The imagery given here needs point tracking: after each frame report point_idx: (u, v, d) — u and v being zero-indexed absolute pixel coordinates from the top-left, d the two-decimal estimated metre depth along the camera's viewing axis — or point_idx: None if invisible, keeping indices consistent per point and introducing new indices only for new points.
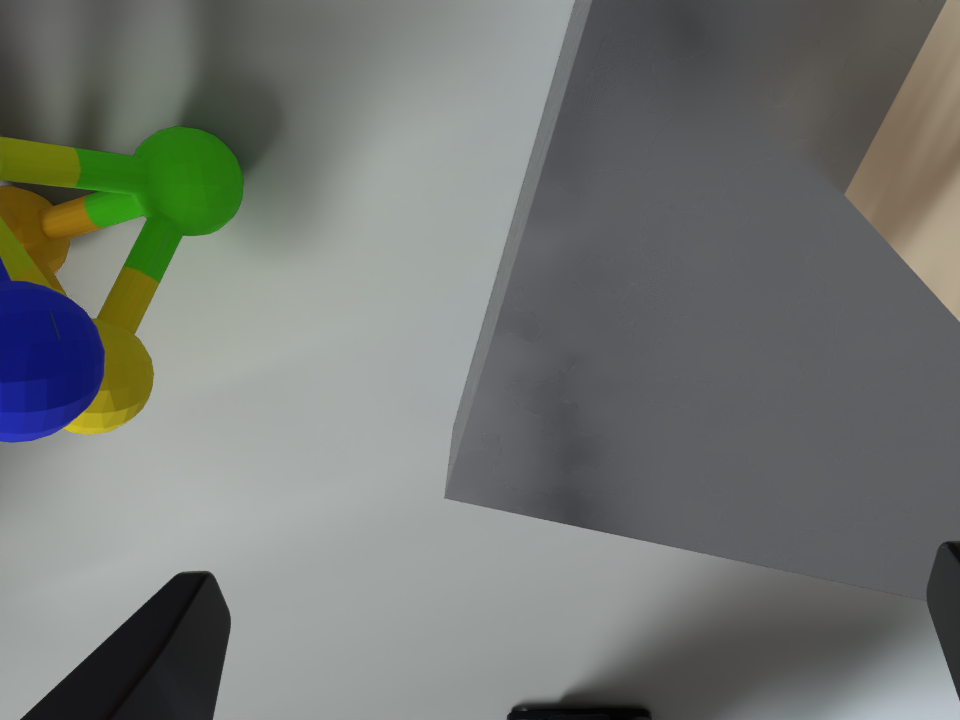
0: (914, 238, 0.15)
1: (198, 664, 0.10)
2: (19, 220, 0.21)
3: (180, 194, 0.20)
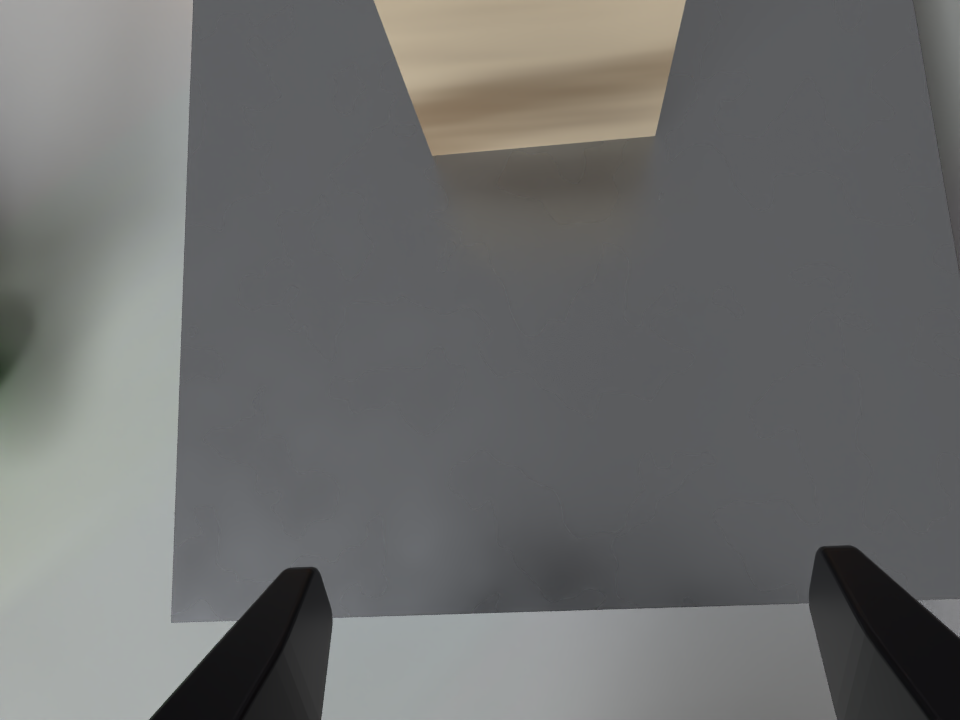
0: None
1: (310, 661, 0.09)
2: None
3: None
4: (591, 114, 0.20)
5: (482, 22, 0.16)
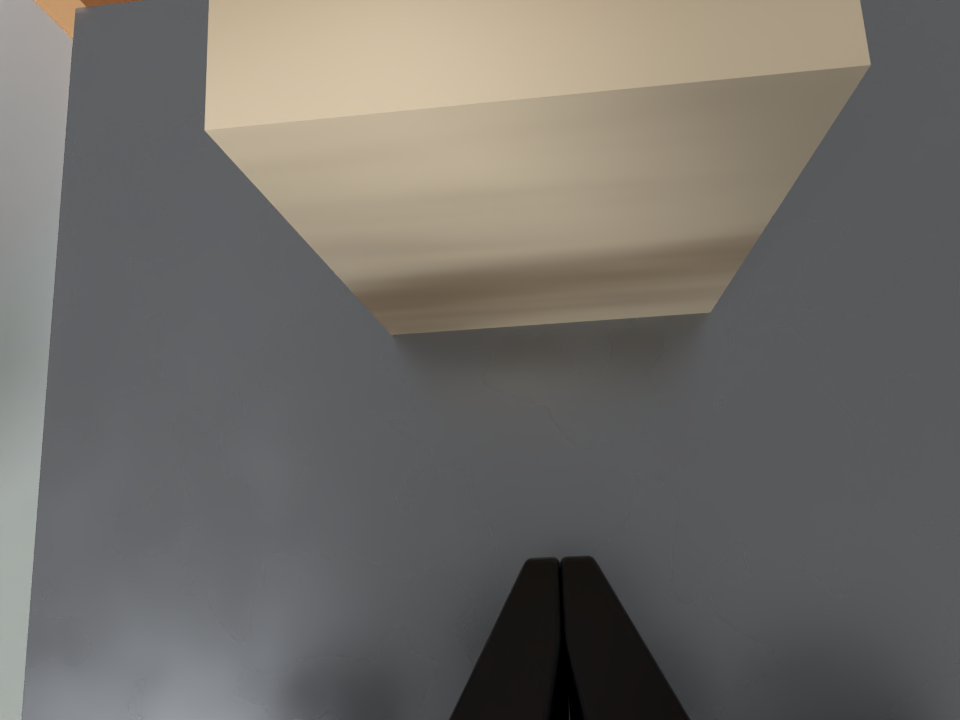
0: None
1: None
2: None
3: None
4: (621, 296, 0.13)
5: (451, 211, 0.10)
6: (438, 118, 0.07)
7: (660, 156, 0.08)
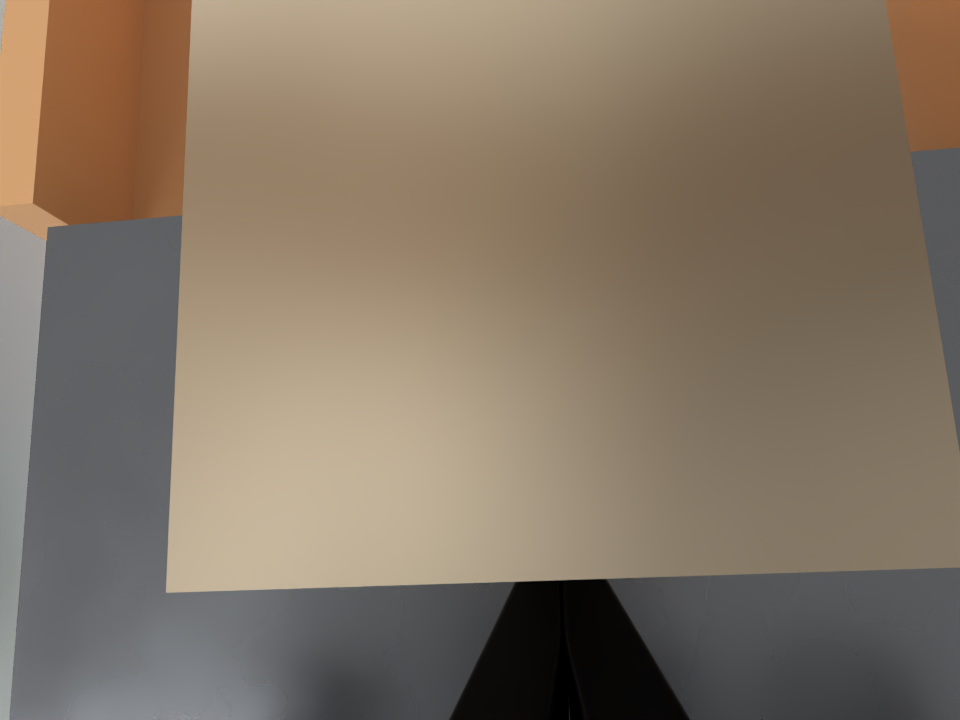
0: None
1: None
2: None
3: None
4: None
5: None
6: (447, 581, 0.06)
7: None
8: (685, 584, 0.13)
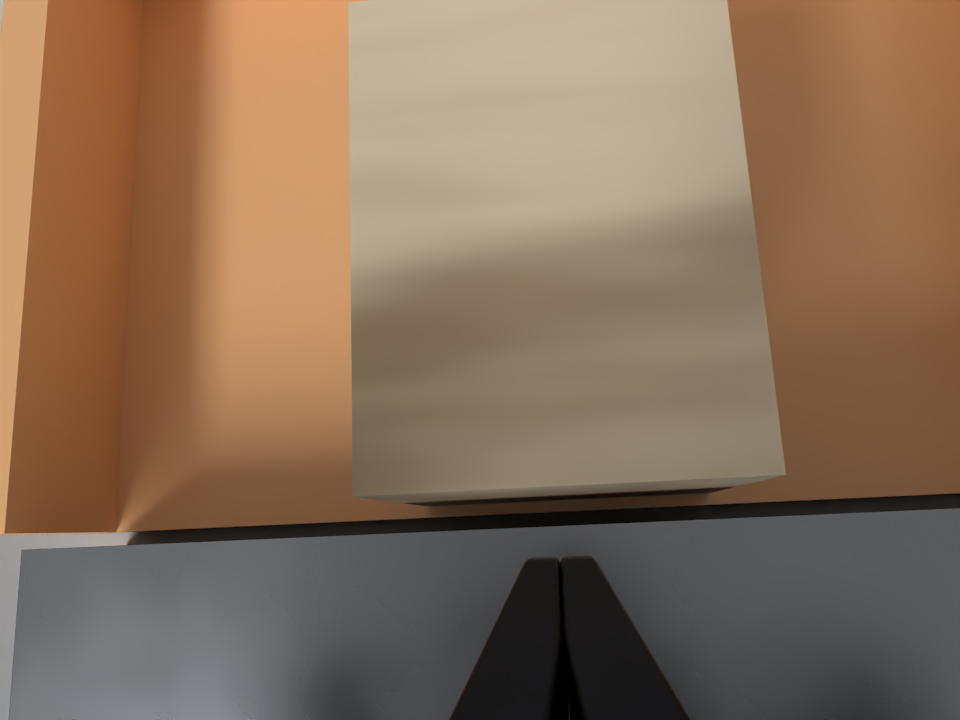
0: None
1: None
2: None
3: None
4: (646, 375, 0.11)
5: (474, 124, 0.12)
6: None
7: (624, 52, 0.12)
8: None
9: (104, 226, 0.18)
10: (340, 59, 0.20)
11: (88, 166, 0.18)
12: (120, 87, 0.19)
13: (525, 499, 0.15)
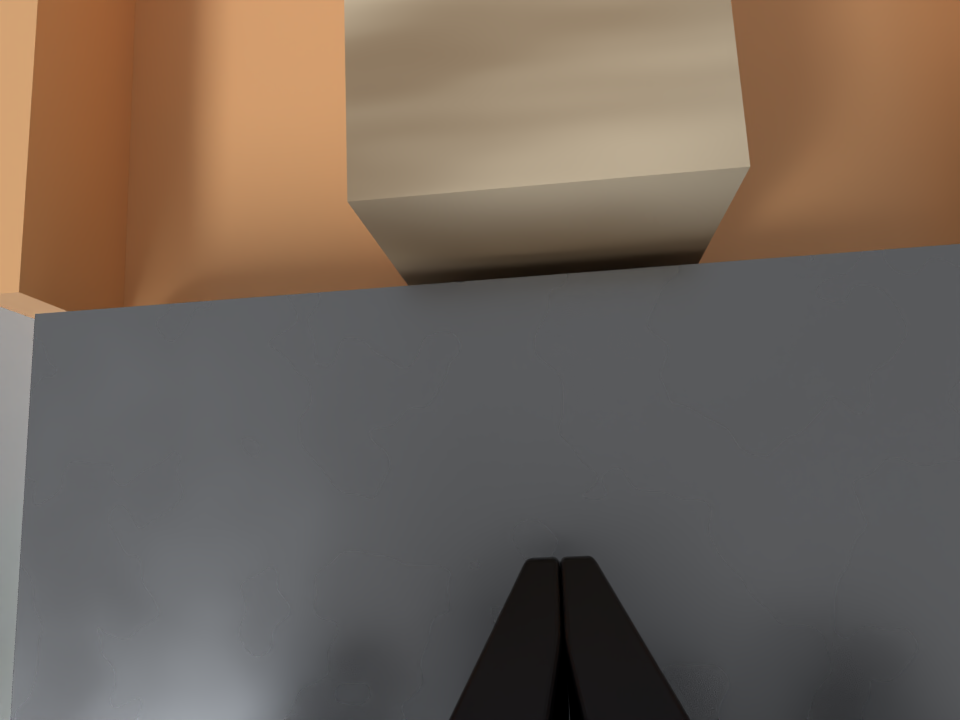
0: None
1: None
2: None
3: None
4: (622, 84, 0.12)
5: None
6: None
7: None
8: (696, 703, 0.13)
9: (107, 40, 0.19)
10: None
11: None
12: None
13: (512, 275, 0.16)
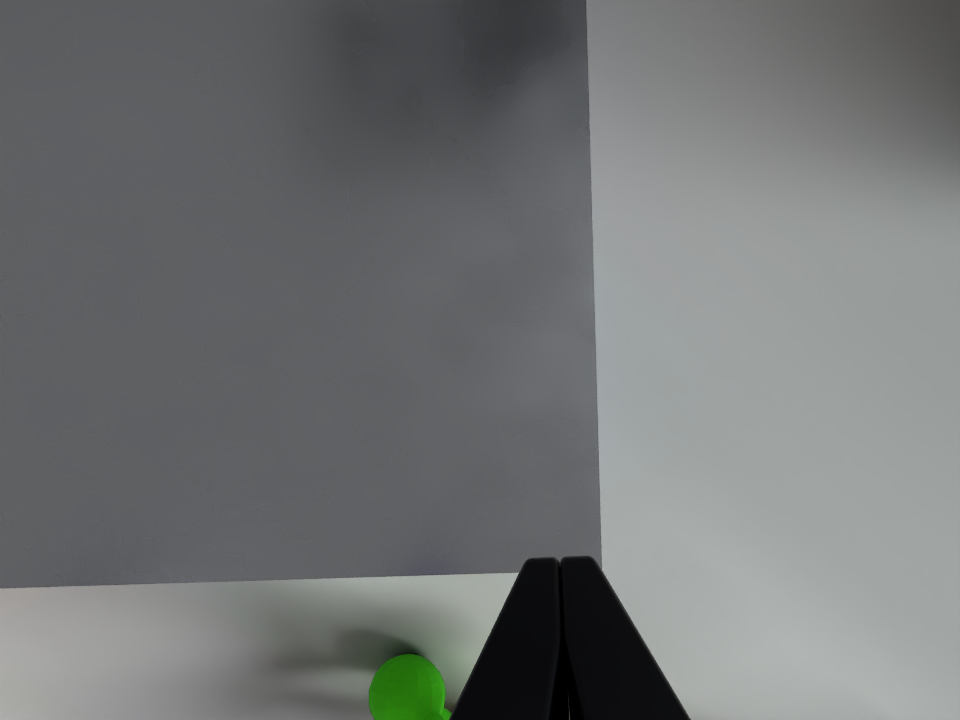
0: None
1: None
2: None
3: None
4: None
5: None
6: None
7: None
8: (17, 211, 0.17)
9: None
10: None
11: None
12: None
13: None
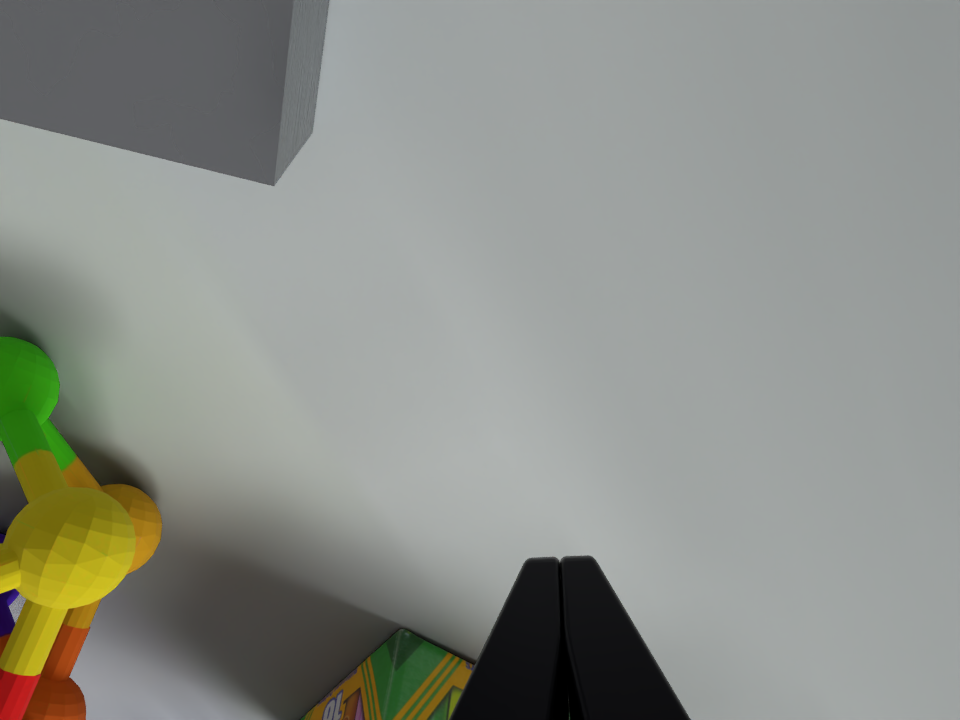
0: None
1: None
2: None
3: None
4: None
5: None
6: None
7: None
8: None
9: None
10: None
11: None
12: None
13: None
